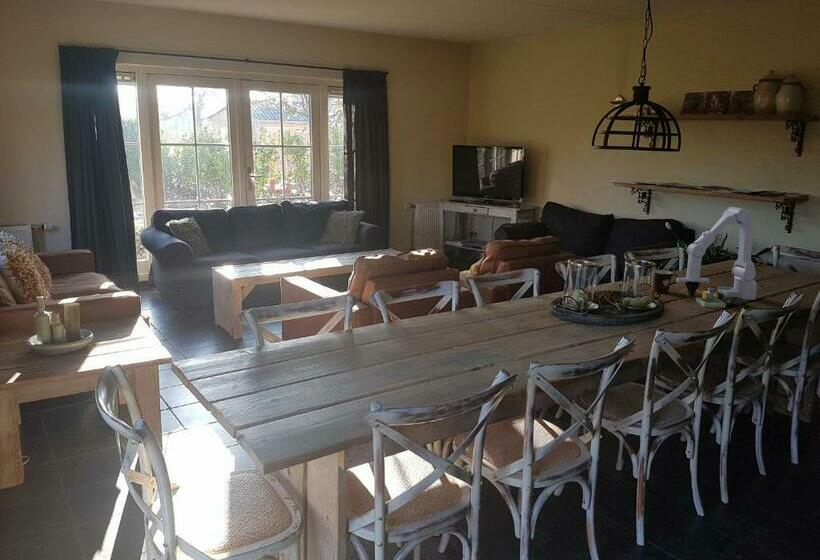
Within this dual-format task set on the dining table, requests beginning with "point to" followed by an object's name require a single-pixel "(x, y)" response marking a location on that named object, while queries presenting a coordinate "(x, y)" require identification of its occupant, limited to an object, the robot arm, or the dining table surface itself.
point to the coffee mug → (663, 281)
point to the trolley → (729, 295)
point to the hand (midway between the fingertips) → (690, 297)
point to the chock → (705, 294)
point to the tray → (716, 303)
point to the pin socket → (697, 294)
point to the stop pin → (710, 295)
